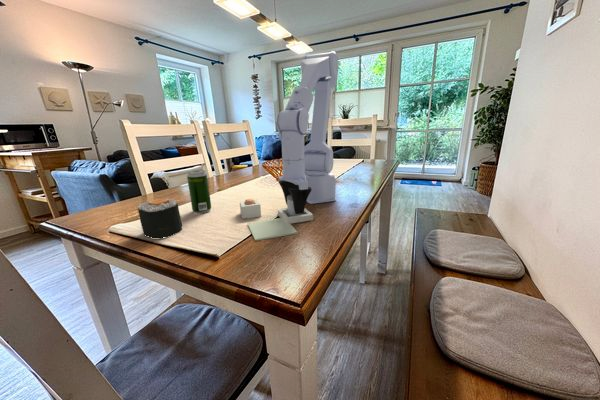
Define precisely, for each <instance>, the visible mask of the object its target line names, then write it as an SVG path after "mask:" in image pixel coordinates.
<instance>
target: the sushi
mask: <svg viewBox="0 0 600 400" xmlns="http://www.w3.org/2000/svg"><path fill="white" fill-rule="evenodd" d="M178 204H179V203H178V201H176V200H175V199H173V198H171V199H170V198H156V199H154V200H150V199H149V200H148V199H147V200H146V201H145V202H143V203H139V204H138V205H136V208H137V210H138V215H139V220H140V225H141V229H142V232H143V235H144V236H145V235H146V236H149V237H152V238H163V237H167V238H169V237H168V236H170V237H172V236H174V235H176V234H179V233H180V232H182V230H183V223H182V217H181V213H180V209H179V205H178ZM173 234H174V235H173ZM171 235H172V236H171ZM146 236H145V237H146ZM163 239H164V238H163Z"/></svg>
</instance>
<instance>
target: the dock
mask: <svg viewBox="0 0 600 400" xmlns="http://www.w3.org/2000/svg"><path fill="white" fill-rule="evenodd" d="M277 215H278V217H279V218H282V219H283V220H284V221H285V222H286V223H288V222H289V223H290V224H291V225H292V224H296V223H302V222H308V221H309V222H310V221H313V220H314V214H313V213H312V212H310V210H308V209H307V208H305V209H304V213H302V215H298V216H292V217H288V211H287V207H286V208H281V209H280V208H279V209H277Z"/></svg>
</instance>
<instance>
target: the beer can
mask: <svg viewBox="0 0 600 400" xmlns="http://www.w3.org/2000/svg"><path fill="white" fill-rule="evenodd" d="M186 174H187V175H186V179H187V185H188V190H189V191H188V192H189V197H190V203H191V210H192V212H193V214H200V215H201V214H205V213H209V212H211V211H212V201H211V195H210V188H209V179H208V174H207V171H206V170H204V169H203V170H202V169H195V170H190V171H187V172H186Z"/></svg>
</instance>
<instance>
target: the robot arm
mask: <svg viewBox="0 0 600 400" xmlns="http://www.w3.org/2000/svg"><path fill="white" fill-rule="evenodd" d="M338 58H339V57H338V55H337V53H336V51H334V50H332V51H330V52H329V51H328V52H321V53H313V54H304V55H303V57H302V59H301V67H300V68H301V72H302V76H301V78H300V79H301V80H300V81H299V82H300V83H299V86H297V87H295V88H294V89H293V90H292V93H291V95H290V97H289V100H288V102H287V104H286V107H285V108H284V109H282V110H281V111H280V112H279V113H278V114H277V116H276V121H275V124H276V129H277V132H278V137H279V138H278V139H279V141H280V142H281V159H282V172H281V173H282V175H281V176H278V184H279V185H280V188H281V190H282V192H283V197H284V200H285V204H286V205H287V196H288V195H291V196H292V200H293V205H294V211H295V213H296V214H301V213H304V209H305V207H306V203H308V204H309V205H313V204H314V205H315V204H321V203H329V202H336V201H337V198H336V183H337V181H336V177H335V174H334V173H333V172H332V170H333V168H334V151H333V149H332V148H331V147H330V146H329V145H328V144H327V142H326V140H327V132H328V131H327V130H328V122H329V111H330V101H331V95H332V90H333V88H335V87H336V86H337V83H338V77H339V59H338ZM313 91H314V94H313ZM312 104H313V110H312V121H311V130H310V141H309V143H307V144H306V145H305V134H306V133H307V131H308V129H309V128H308V127H309V120H310V119H309V118H310V115H309V114H310V113H309V112H310V111H311V110H310V109H311V107H312Z"/></svg>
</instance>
